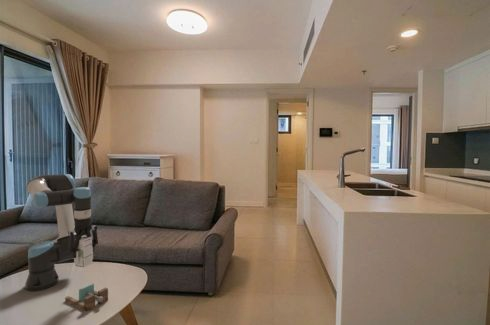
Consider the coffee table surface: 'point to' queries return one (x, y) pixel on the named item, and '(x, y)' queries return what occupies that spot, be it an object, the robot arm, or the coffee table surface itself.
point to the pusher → (88, 293)
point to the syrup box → (84, 251)
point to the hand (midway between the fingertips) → (83, 260)
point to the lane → (89, 300)
